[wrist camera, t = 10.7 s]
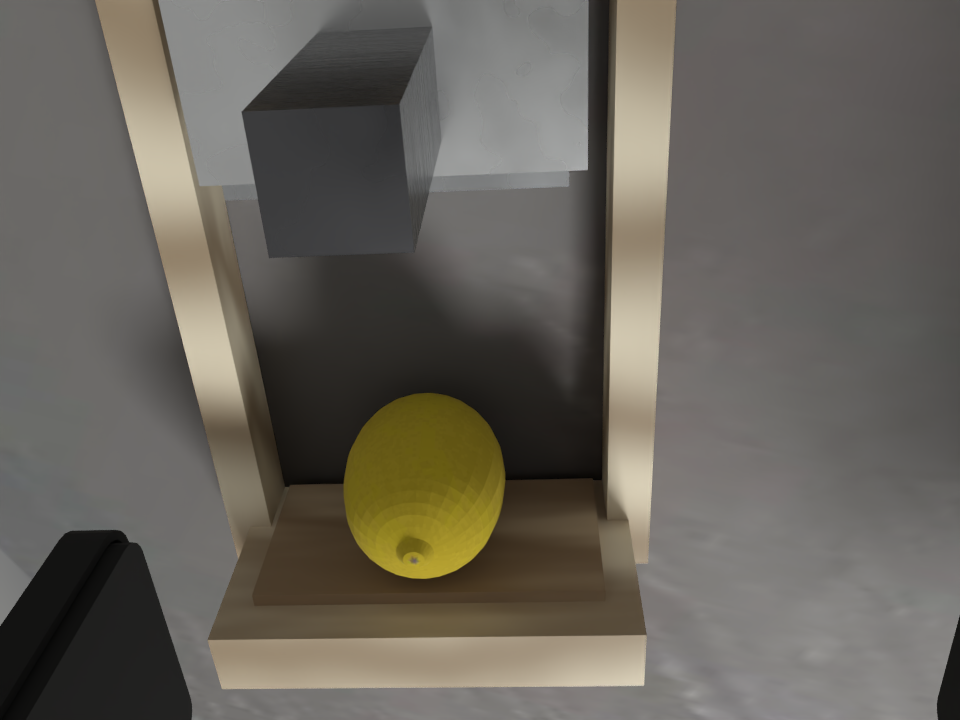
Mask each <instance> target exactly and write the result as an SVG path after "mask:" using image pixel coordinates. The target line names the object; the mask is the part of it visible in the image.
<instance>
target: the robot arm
mask: <svg viewBox="0 0 960 720" xmlns="http://www.w3.org/2000/svg"><path fill="white" fill-rule="evenodd" d="M937 714H938V720H960V617H959V621H958V624H957V628H956V632H955V636H954V639H953V643H952V647H951V651H950V654H949V658H948V662H947V665H946V669H945V673H944V677H943V680H942V684H941V688H940V692H939V695H938V701H937ZM191 719H192V703H191V698H190V695H189V692H188V689H187V686H186V682H185V679H184V676H183V673H182V670H181V667H180V664H179V661H178V658H177V655H176V652H175V649H174V646H173V643H172V639H171V636H170V633H169V630H168V627H167V624H166V621H165V618H164V615H163V612H162V609H161V606H160V603H159V600H158V597H157V593H156V590H155V587H154V584H153V581H152V578H151V575H150V572H149V569H148V566H147V563H146V560H145V557H144V554H143V551H142V549H141V547H140V546H139V545H138V544H137V543H129V541H128V539H127V537H126V535H125V534H124V533H123V532H122V531H118V530H92V531H70V532H68V533H65V534H64V536H63V537H62V538H61V539H60V540H59V541H58V543H57V544H56V546H55V547H54V549H53V550H52V552H51V553H50V554H49V556H48V557H47V559H46V560H45V562H44V563H43V565H42V566H41V568H40V569H39V570H38V572H37V573H36V575H35V576H34V578H33V579H32V581H31V582H30V584H29V585H28V587H27V588H26V589H25V591H24V592H23V594H22V595H21V597H20V598H19V600H18V601H17V603H16V604H15V606H14V607H13V609H12V610H11V611H10V613H9V614H8V616H7V617H6V619H5V620H4V622H3V623H2V624H1V626H0V720H191Z"/></svg>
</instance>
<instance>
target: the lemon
mask: <svg viewBox="0 0 960 720" xmlns="http://www.w3.org/2000/svg"><path fill="white" fill-rule="evenodd" d="M504 488H505V469H504V463H503V458H502V453H501V449H500V445H499V443H498V441H497V439H496V437H495V435H494V433H493V431H492V429H491V427H490V426H489V424H488V423H487V422H486V421H485V420H484V419H483V418H482V417H481V416H480V414H479V413H478V412H477V411H476V410H474V409H473V408H471V407H470V406H468V405H467V404H465V403H464V402H462V401H460V400H458V399H455V398H452V397H450V396H447V395H442V394H435V393H419V394H412V395H409V396H405V397H402V398H399V399H396V400H394V401H392V402H391V403H389V404H387V405H386V406H384V407H382V408H381V409H380V410H378V411H377V412H376V413H375V414H374V415H373V416H372V417H371V418H370V419H369V420H368V422H367V423H366V424H365V425H364V426H363V428H362V429H361V431H360V433H359V435H358V436H357V438H356V440H355V442H354V444H353V446H352V448H351V450H350V453H349V456H348V460H347V465H346V471H345V477H344V486H343V491H344V503H345V509H346V516H347V521H348V525H349V527H350V530H351V532H352V534H353V536H354V538H355V540H356V542H357V544H358V545H359V547H360V548H361V549H362V550H363V552H364V553H365V554H366V555H367V556H368V557H369V558H370V559H371V560H372V561H374V562H375V563H376V564H378V565H379V566H381V567H382V568H383V569H385V570H387V571H389V572H392V573H394V574H396V575H399V576H404V577H408V578H419V579H427V578H434V577H440V576H443V575H445V574H448V573H451V572H454V571H456V570H458V569H459V568H461V567H462V566H464V565H465V564H467V563H468V562H470V561H471V560H472V559H473V558H474V557H475V556H476V555H477V554H478V553H479V552H480V550H481V549H482V548H483V547H484V546H485V544H486V543H487V541H488V539H489V538H490V536H491V533H492V531H493V529H494V527H495V525H496V523H497V520H498V518H499V515H500V512H501V509H502V504H503V496H504Z"/></svg>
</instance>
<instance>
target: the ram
mask: <svg viewBox="0 0 960 720" xmlns="http://www.w3.org/2000/svg"><path fill="white" fill-rule="evenodd" d="M158 2H159V7H160V11H161V16H162V20H163V25H164V29H165V34H166V38H167V43H168V47H169V52H170V56H171V60H172V65H173V69H174V74H175V78H176V83H177V87H178V92H179V96H180V101H181V105H182V110H183V114H184V119H185V123H186V128H187V132H188V137H189V141H190V146H191V150H192V155H193V159H194V164H195V168H196V173H197V177H198V181H199V186H219V185H222V189H223V194H224V199H225V201H226V200H251V199H258V202H259V207H260V212H261V218H262V223H263V228H264V233H265V239H266V244H267V249H268V254H269V258H277V257H304V256H331V255H358V254H385V253H412V252H415V248H416V244H417V239H418V235H419V231H420V227H421V223H422V219H423V215H424V211H425V207H426V202H427V198H428V194H429V192H446V191H470V190H495V189H519V188H544V187H568V186H569V171H576V170H588V5H589V0H158Z"/></svg>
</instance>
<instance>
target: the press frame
mask: <svg viewBox="0 0 960 720" xmlns="http://www.w3.org/2000/svg"><path fill="white" fill-rule="evenodd" d="M95 2H96V6H97V10H98V14H99V18H100V21H101V25H102V29H103V33H104V37H105V41H106V45H107V49H108V53H109V57H110V60H111V64H112V68H113V72H114V76H115V80H116V84H117V88H118V92H119V96H120V99H121V103H122V107H123V111H124V115H125V119H126V123H127V127H128V131H129V135H130V138H131V142H132V146H133V150H134V154H135V158H136V162H137V166H138V170H139V174H140V177H141V181H142V185H143V189H144V193H145V197H146V201H147V205H148V209H149V213H150V216H151V220H152V224H153V228H154V232H155V236H156V240H157V244H158V248H159V252H160V255H161V259H162V263H163V267H164V271H165V275H166V279H167V283H168V287H169V290H170V294H171V298H172V302H173V306H174V310H175V314H176V318H177V322H178V326H179V329H180V333H181V337H182V341H183V345H184V349H185V353H186V357H187V361H188V365H189V368H190V372H191V376H192V380H193V384H194V388H195V392H196V396H197V400H198V404H199V407H200V411H201V415H202V419H203V423H204V427H205V431H206V435H207V439H208V443H209V446H210V450H211V454H212V458H213V462H214V466H215V470H216V474H217V478H218V482H219V485H220V489H221V493H222V497H223V501H224V505H225V509H226V513H227V517H228V521H229V524H230V528H231V532H232V536H233V540H234V544H235V548H236V552H237V556H238V561H237V564H236V567H235V569H234V572H233V575H232V577H231V580H230V582H229V585H228V588H227V590H226V593H225V596H224V598H223V601H222V603H221V606H220V609H219V611H218V614H217V617H216V619H215V622H214V624H213V627H212V630H211V632H210V635H209V638H208V643H209V647H210V650H211V653H212V657H213V660H214V663H215V667H216V670H217V673H218V677H219V680H220V684H221V687H222V689H289V688H419V687H548V686H644V674H645V655H646V637H647V635H646V628H645V622H644V616H643V609H642V603H641V597H640V590H639V584H638V577H637V571H636V565H635V563H648V549H649V529H650V510H651V490H652V470H653V451H654V431H655V411H656V392H657V372H658V352H659V333H660V313H661V293H662V274H663V254H664V234H665V215H666V195H667V176H668V156H669V136H670V117H671V97H672V77H673V58H674V38H675V18H676V0H609V52H608V117H607V182H606V247H605V311H604V376H603V441H602V480H593V478H586V479H540V480H505V488H504V496H503V504H502V509H501V512H500V515H499V518H498V520H497V523H496V525H495V527H494V529H493V531H492V533H491V536H490V538H489V539H488V541H487V543H486V544H485V546H484V547H483V548H482V549H481V550H480V552H479V553H478V554H477V555H476V556H475V557H474V558H473V559H472V560H471V561H470V562H468V563H467V564H465V565H464V566H462V567H461V568H459V569H458V570H456V571H454V572H451V573H448V574H445V575H443V576H440V577H434V578H427V579H419V578H408V577H404V576H399V575H396V574H394V573H392V572H389V571H387V570H385V569H383V568H382V567H381V566H379V565H378V564H376V563H375V562H374V561H372V560H371V559H370V558H369V557H368V556H367V555H366V554H365V553H364V552H363V550H362V549H361V548H360V547H359V545H358V544H357V542H356V540H355V538H354V536H353V534H352V532H351V530H350V527H349V525H348V521H347V516H346V509H345V503H344V491H343V486H344V484H308V485H290V487H285V484H284V480H283V475H282V470H281V465H280V461H279V456H278V451H277V446H276V442H275V437H274V432H273V427H272V423H271V418H270V413H269V408H268V404H267V399H266V394H265V389H264V384H263V380H262V375H261V370H260V365H259V361H258V356H257V351H256V346H255V342H254V337H253V332H252V327H251V323H250V318H249V313H248V308H247V304H246V299H245V294H244V289H243V285H242V280H241V275H240V270H239V265H238V261H237V256H236V251H235V246H234V242H233V237H232V232H231V227H230V223H229V218H228V213H227V208H226V204H225V199H224V194H223V189H222V185H219V186H199V181H198V177H197V173H196V168H195V164H194V159H193V155H192V150H191V146H190V141H189V137H188V132H187V128H186V123H185V119H184V114H183V110H182V105H181V101H180V96H179V92H178V87H177V83H176V78H175V74H174V69H173V65H172V60H171V56H170V52H169V47H168V43H167V38H166V34H165V29H164V25H163V20H162V16H161V11H160V7H159V2H158V0H95Z"/></svg>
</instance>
